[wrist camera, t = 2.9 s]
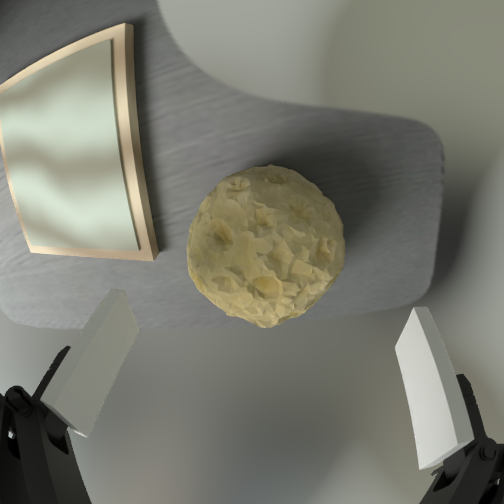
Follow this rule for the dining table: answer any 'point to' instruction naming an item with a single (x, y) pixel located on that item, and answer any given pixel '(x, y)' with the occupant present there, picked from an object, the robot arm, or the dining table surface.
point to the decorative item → (265, 245)
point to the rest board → (79, 151)
